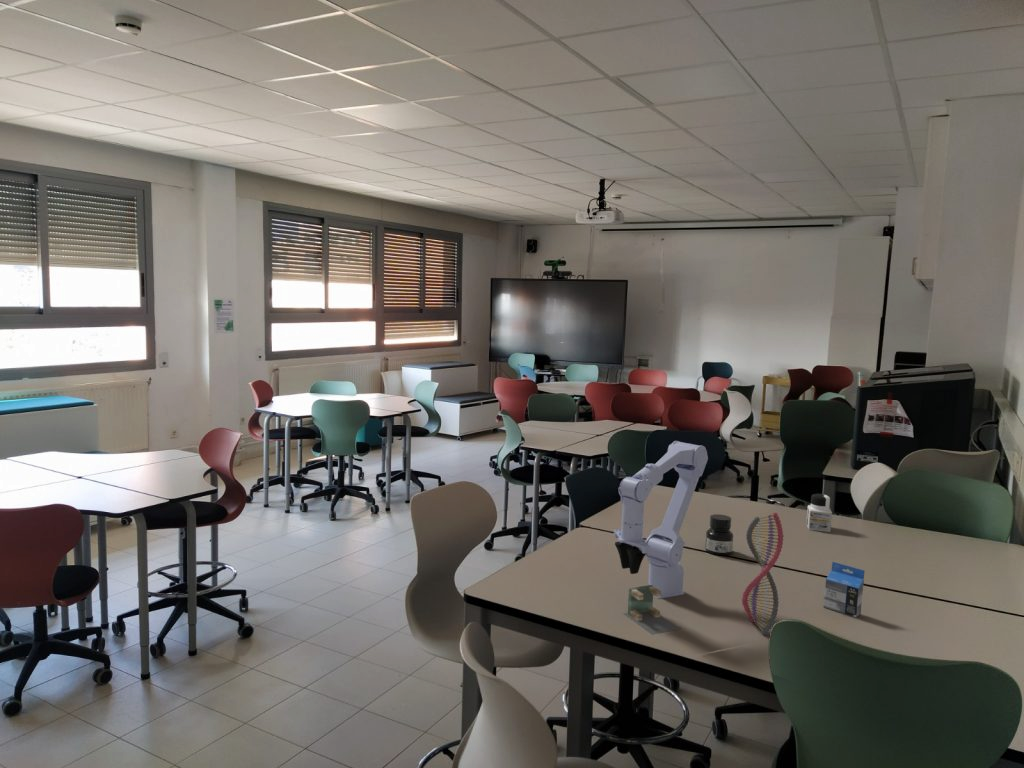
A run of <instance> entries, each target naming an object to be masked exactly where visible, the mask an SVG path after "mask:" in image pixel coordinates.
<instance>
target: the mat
mask: <svg viewBox="0 0 1024 768" xmlns="http://www.w3.org/2000/svg"><path fill="white" fill-rule="evenodd" d="M623 615H624V616H625V617H627V618H628V619H630V620H631V621H633V622H634V623H636V624H637V625H638V626H640V627H641V628H643V629H644V630H645V631H647V633H649V634H651V635H655V634H656V635H657V634H660V633H666V632H671V631H676V630H681V629H682V628H681V627H679V626H678V625H677V624H675V623H674V622H672V621H671V620H669V619H668V618H667V617H665V616H663V615H662V614H660V617H657V618H655V617H654V616H652V615H651V614H649V613H642V620H641V621H637V620H636V619H634V618H633V617H631V616H630V615H629V614H628V612H624V613H623Z"/></svg>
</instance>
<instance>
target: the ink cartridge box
mask: <svg viewBox="0 0 1024 768" xmlns="http://www.w3.org/2000/svg"><path fill="white" fill-rule="evenodd" d="M844 570H845V571H844ZM847 570H849V571H850V572H848V571H847ZM864 578H865V569H864V570H863V569H860V568H858V567H857V568H856V567H853V566H850V565H847V564H843V563H838V562H835V561H832V564H831V570H830V572H829V573H828V575H827V577H826V579H825V585H824V594H823V595H824V597H823V608H825V609H828V610H831V611H834V612H838V613H840V614H845V615H848V616H850V617H853V618H857V616H858V617H859V616H860V615H861V614H862V604H863V603H862V602H863V591H864V583H865V579H864Z"/></svg>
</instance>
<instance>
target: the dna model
mask: <svg viewBox="0 0 1024 768" xmlns="http://www.w3.org/2000/svg"><path fill="white" fill-rule="evenodd" d="M772 517H773V518H772ZM766 518H767V519H766ZM781 522H782V521H781V520H780V516H778V513H777V512H775V511H773V512H772V514H767V516H765V517H759V516H755V517H754V519H752V521H751V522H750V524H749V525H748V527H747V531H746V535H745V536H746V543H747V545H748V548H749V551H750V552H751V554H752V556H753V557H754V558H755V560H756V561H757V563H758V565H759V567H761V570H760V573H759V574H757V576H756V577H755V578H754V579H753V580H752V581H750V583H748V585H747V586H746V588H745V589H744V591H743V592H742V597H741V603H742V607H743V610H744V611H745V613H746V615H747V616H748V618H749V619H750V621H751V622H752V623H754V624H755V625H756V626H758V627H759V629H760V630H761V634H762V636H766V635H768V632H770V630H771V629H772V626H773V625H774V623H775V619H776V618H777V615H778V611H779V603H780V602H779V594H778V590H777V589H778V588H777V586H776V583H775V581H774V579H773V576H772V574H771V572H770V571H771V569H772V568H774V567H773V566H775V564H776V562H777V561H778V559H779V556H780V555H781V552H782V548H783V544H784V543H783V541H784V531H783V528H782V523H781ZM774 530H777V531H774ZM776 537H778V538H776ZM759 540H760V541H759ZM775 540H776V541H775ZM762 541H763V542H762ZM773 543H774V544H773ZM763 544H764V545H763ZM763 547H764V548H763ZM764 550H765V551H764ZM774 550H775V551H774ZM772 553H773V554H772ZM764 577H765V578H764ZM765 580H767V581H765ZM767 583H768V584H767ZM767 586H770V587H767ZM769 589H771V590H769ZM759 590H760V591H759ZM761 590H762V591H761ZM768 593H772V594H768ZM767 596H772V597H767ZM764 599H766V600H764ZM764 602H766V603H764ZM770 603H773V604H770ZM765 605H766V606H765ZM769 606H770V607H769ZM771 606H772V607H771ZM767 609H768V610H767ZM771 610H772V611H771ZM763 611H764V612H763ZM766 612H767V613H766ZM760 613H761V614H760ZM769 613H770V614H769ZM763 614H764V615H763ZM765 615H766V616H765ZM768 616H769V617H768ZM766 619H767V620H766ZM764 621H765V622H764ZM763 624H764V625H765V626H764V625H763Z"/></svg>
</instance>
